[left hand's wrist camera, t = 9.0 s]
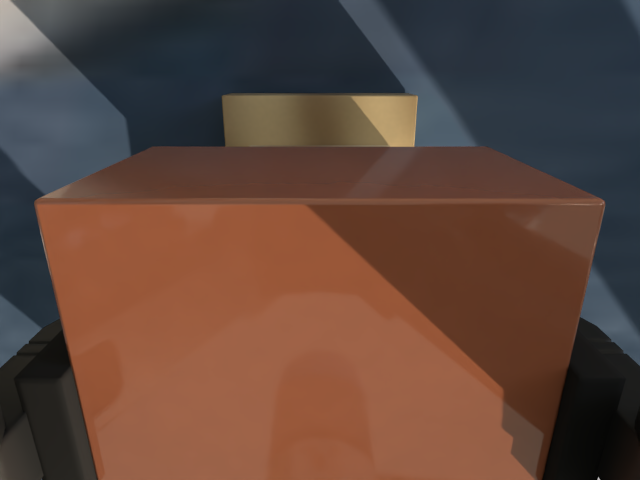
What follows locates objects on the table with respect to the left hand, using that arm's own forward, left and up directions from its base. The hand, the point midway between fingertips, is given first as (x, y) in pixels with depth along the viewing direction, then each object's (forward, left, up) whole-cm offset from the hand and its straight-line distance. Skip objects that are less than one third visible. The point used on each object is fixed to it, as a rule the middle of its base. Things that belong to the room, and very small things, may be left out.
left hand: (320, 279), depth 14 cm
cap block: (0, 0, +1) cm, 1 cm away
